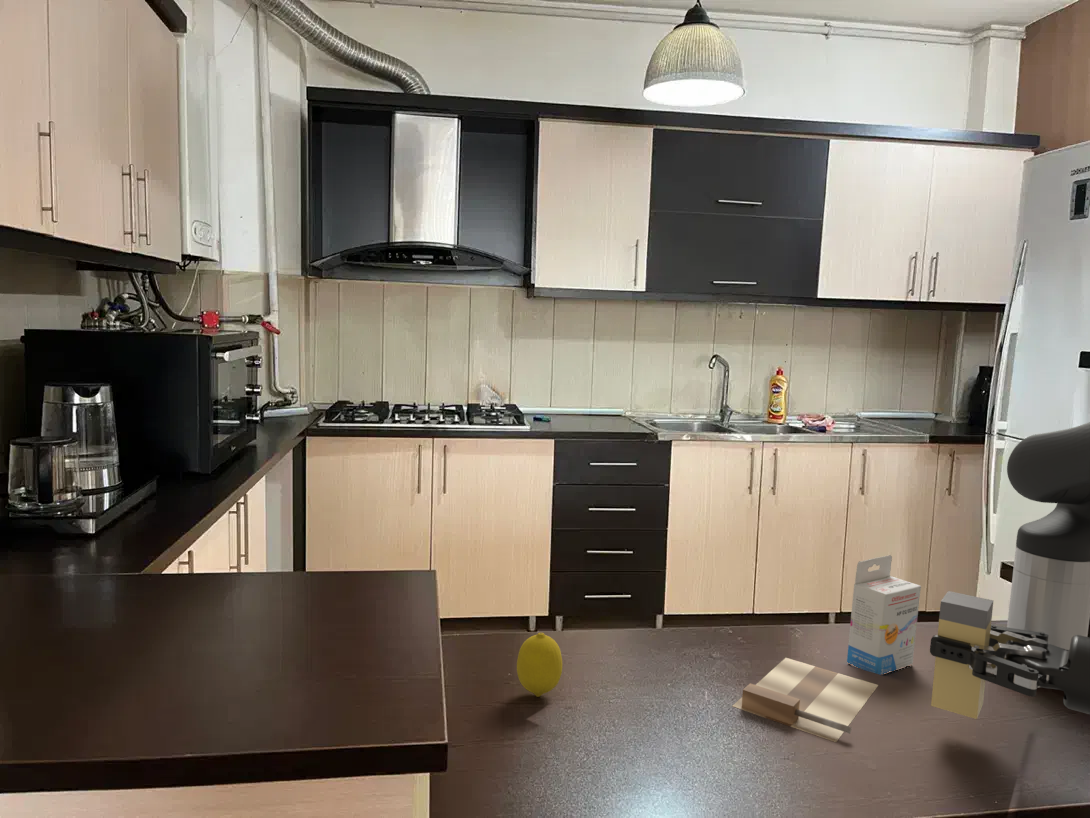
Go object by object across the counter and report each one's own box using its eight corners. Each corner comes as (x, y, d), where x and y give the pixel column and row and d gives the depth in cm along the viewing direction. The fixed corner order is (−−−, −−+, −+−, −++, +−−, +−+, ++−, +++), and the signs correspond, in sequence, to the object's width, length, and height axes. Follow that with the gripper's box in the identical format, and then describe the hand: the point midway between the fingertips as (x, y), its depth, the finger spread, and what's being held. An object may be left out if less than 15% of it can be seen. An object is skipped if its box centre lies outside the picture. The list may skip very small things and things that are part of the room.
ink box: (878, 679, 102) (888, 571, 101) (845, 664, 107) (854, 561, 105) (914, 666, 107) (924, 563, 106) (881, 652, 111) (890, 553, 110)
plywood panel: (785, 666, 105) (785, 657, 105) (877, 693, 98) (878, 685, 98) (731, 715, 91) (732, 705, 91) (835, 752, 84) (836, 742, 84)
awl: (748, 700, 92) (750, 683, 92) (852, 735, 85) (854, 717, 85) (741, 707, 90) (742, 689, 90) (846, 743, 83) (848, 724, 83)
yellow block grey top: (938, 691, 89) (948, 590, 88) (983, 703, 86) (993, 600, 85) (930, 705, 85) (940, 601, 84) (976, 719, 83) (987, 611, 81)
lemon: (567, 692, 95) (571, 630, 94) (549, 711, 90) (552, 646, 89) (527, 681, 97) (530, 621, 96) (507, 700, 92) (510, 636, 91)
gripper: (1128, 627, 82) (949, 589, 92) (1129, 671, 70) (925, 623, 81) (1120, 694, 83) (944, 649, 93) (1119, 749, 71) (918, 691, 81)
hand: (936, 637), depth 87 cm, fingers closed on yellow block grey top, 4 cm apart
